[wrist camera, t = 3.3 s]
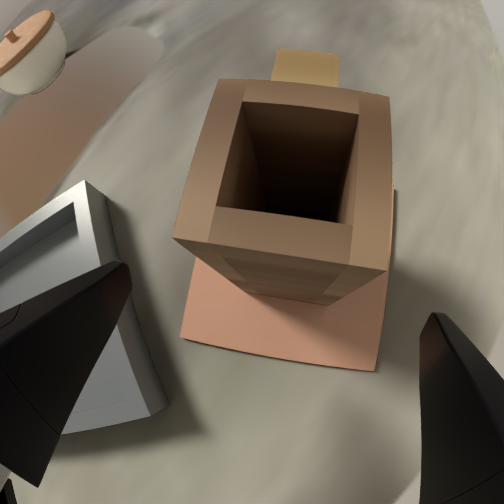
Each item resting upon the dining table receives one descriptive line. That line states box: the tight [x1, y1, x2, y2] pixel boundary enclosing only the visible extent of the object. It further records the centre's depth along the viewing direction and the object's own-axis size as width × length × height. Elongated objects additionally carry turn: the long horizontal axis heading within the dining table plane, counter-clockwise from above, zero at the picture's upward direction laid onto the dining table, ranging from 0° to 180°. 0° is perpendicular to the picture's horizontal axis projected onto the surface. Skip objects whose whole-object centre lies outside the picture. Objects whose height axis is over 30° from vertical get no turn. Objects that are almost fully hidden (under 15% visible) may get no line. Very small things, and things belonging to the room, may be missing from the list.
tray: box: [0, 180, 170, 434], centre depth 19 cm, size 16×16×3 cm
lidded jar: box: [0, 10, 67, 95], centre depth 24 cm, size 11×11×9 cm
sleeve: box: [172, 49, 392, 306], centre depth 13 cm, size 7×5×12 cm
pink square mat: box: [180, 185, 394, 371], centre depth 17 cm, size 12×12×5 cm
